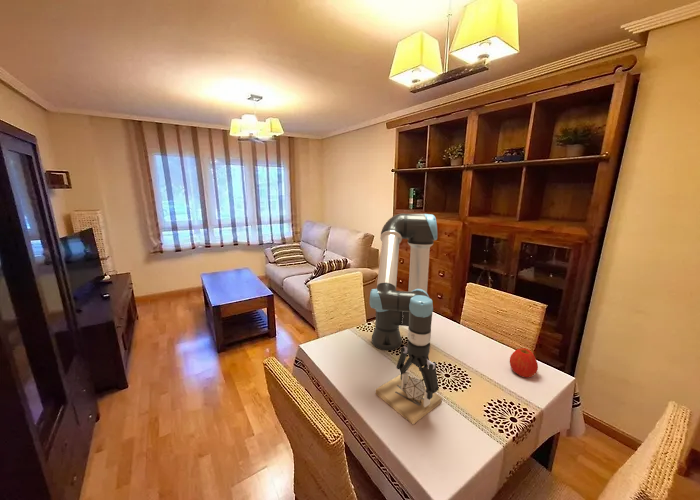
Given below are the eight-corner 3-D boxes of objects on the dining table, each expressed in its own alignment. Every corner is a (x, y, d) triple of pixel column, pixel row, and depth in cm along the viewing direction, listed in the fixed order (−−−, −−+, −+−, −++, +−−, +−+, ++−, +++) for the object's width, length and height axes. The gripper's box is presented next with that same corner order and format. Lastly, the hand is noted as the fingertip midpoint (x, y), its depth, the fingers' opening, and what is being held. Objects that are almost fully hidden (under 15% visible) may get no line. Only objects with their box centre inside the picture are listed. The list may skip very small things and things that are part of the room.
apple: (509, 361, 127) (513, 340, 124) (537, 370, 121) (540, 348, 118) (506, 373, 118) (510, 351, 116) (535, 383, 113) (539, 360, 110)
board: (375, 393, 107) (375, 389, 107) (403, 376, 117) (404, 372, 116) (412, 424, 93) (413, 419, 93) (441, 402, 103) (441, 397, 102)
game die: (417, 404, 104) (434, 384, 103) (415, 414, 96) (433, 391, 95) (398, 386, 107) (414, 366, 106) (394, 394, 99) (412, 372, 98)
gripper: (388, 330, 103) (386, 383, 108) (439, 360, 86) (434, 421, 91) (402, 324, 107) (399, 376, 112) (453, 351, 90) (448, 410, 95)
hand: (415, 396), depth 102 cm, fingers closed on game die, 9 cm apart
